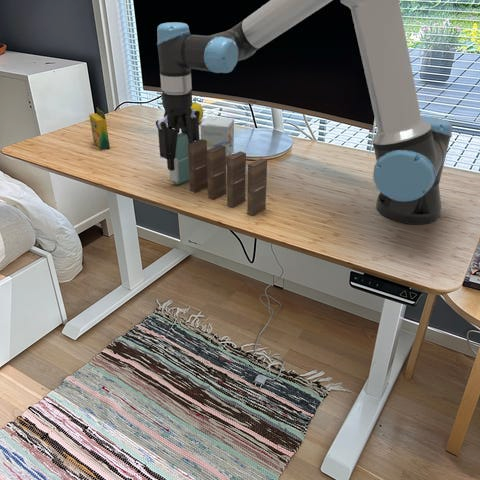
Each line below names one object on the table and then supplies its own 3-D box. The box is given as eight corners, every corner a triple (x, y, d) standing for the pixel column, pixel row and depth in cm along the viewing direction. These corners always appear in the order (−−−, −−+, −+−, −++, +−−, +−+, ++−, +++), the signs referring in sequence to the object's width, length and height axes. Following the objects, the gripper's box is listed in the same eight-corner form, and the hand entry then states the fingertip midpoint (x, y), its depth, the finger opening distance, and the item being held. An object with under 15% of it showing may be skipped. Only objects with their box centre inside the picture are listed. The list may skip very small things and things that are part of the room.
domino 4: (245, 201, 124) (246, 153, 117) (232, 208, 121) (232, 159, 114) (239, 198, 125) (240, 151, 118) (227, 205, 122) (226, 157, 115)
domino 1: (191, 178, 135) (188, 133, 128) (178, 184, 131) (174, 138, 124) (186, 176, 136) (183, 131, 129) (173, 182, 132) (169, 136, 126)
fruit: (190, 126, 173) (189, 104, 169) (186, 121, 177) (185, 99, 173) (205, 124, 174) (204, 102, 170) (201, 120, 179) (200, 98, 175)
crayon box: (93, 143, 158) (87, 108, 152) (102, 142, 159) (97, 106, 153) (101, 150, 153) (95, 114, 147) (110, 148, 154) (105, 112, 148)
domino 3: (226, 193, 128) (225, 146, 121) (213, 200, 124) (212, 152, 118) (221, 191, 129) (220, 144, 122) (208, 198, 125) (206, 150, 119)
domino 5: (265, 208, 121) (267, 159, 114) (253, 216, 117) (254, 166, 110) (259, 206, 122) (261, 157, 115) (247, 213, 118) (247, 164, 112)
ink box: (228, 164, 144) (228, 126, 138) (200, 162, 145) (199, 124, 139) (234, 154, 151) (234, 116, 145) (208, 152, 153) (206, 114, 146)
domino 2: (208, 186, 131) (206, 140, 124) (195, 192, 128) (193, 145, 121) (203, 184, 132) (201, 138, 125) (190, 190, 129) (187, 144, 122)
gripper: (191, 81, 128) (195, 163, 141) (138, 95, 117) (147, 183, 129) (212, 86, 124) (214, 170, 137) (159, 101, 113) (167, 191, 125)
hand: (182, 176), depth 133 cm, fingers closed on domino 1, 5 cm apart
